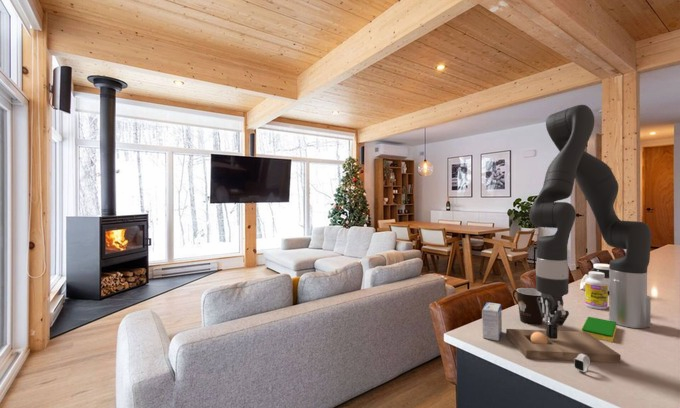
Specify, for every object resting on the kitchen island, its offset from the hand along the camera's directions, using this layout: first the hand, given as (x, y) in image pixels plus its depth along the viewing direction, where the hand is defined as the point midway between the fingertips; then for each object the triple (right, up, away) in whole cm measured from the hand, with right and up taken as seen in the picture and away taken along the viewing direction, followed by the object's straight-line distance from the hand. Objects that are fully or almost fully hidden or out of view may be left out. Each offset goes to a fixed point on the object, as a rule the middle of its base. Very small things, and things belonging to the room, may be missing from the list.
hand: (551, 337), depth 90 cm
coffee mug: (+6, -3, +20) cm, 21 cm away
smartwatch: (-1, -3, -12) cm, 13 cm away
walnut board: (+2, -3, 0) cm, 3 cm away
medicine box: (-12, -3, +9) cm, 15 cm away
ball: (-3, -1, +1) cm, 3 cm away
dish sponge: (+21, -3, +10) cm, 24 cm away
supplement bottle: (+37, -2, +32) cm, 49 cm away
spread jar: (+53, -1, +52) cm, 74 cm away
